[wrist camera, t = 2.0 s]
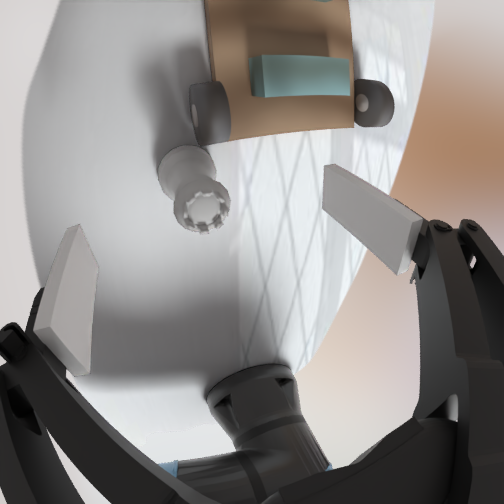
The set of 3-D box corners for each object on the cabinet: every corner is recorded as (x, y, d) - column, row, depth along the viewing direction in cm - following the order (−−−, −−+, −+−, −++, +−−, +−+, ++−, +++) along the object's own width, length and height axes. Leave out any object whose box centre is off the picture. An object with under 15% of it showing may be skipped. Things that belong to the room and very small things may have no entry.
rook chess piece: (146, 165, 19) (146, 205, 13) (196, 132, 19) (222, 156, 13) (176, 207, 22) (193, 262, 16) (223, 178, 22) (258, 221, 16)
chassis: (361, 124, 24) (393, 135, 20) (194, 144, 20) (205, 157, 16) (350, -37, 13) (381, -46, 10) (173, -56, 9) (181, -82, 6)
